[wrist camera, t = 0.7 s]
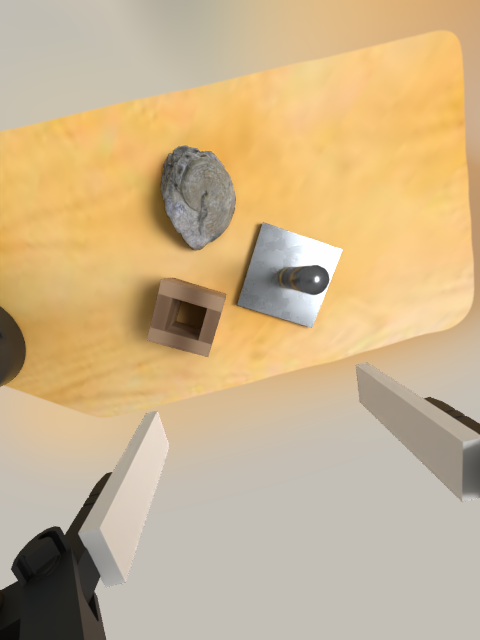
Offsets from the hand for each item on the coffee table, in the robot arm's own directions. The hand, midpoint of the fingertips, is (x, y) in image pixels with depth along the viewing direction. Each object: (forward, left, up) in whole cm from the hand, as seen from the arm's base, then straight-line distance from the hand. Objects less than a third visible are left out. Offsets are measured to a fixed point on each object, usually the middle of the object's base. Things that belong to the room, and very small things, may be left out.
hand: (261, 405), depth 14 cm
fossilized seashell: (-12, +15, -21) cm, 28 cm away
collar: (-8, 0, -21) cm, 22 cm away
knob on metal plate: (+4, +9, -21) cm, 23 cm away
